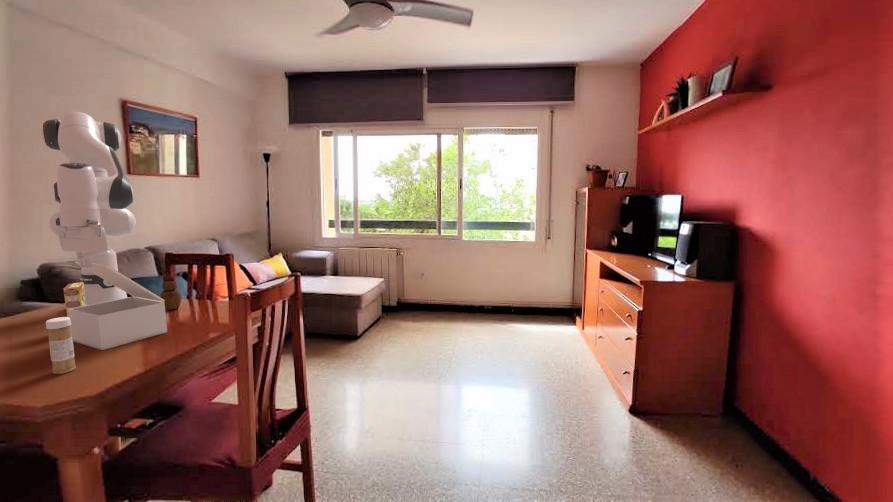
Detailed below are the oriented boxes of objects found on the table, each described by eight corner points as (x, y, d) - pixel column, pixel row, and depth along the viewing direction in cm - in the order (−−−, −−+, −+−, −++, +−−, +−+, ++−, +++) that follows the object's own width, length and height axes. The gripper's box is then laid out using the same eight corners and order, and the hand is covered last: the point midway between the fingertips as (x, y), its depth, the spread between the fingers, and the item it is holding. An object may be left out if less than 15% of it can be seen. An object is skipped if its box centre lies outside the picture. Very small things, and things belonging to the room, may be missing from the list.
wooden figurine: (158, 310, 166) (154, 272, 165) (169, 306, 172) (166, 269, 170) (173, 311, 165) (170, 272, 163) (185, 307, 171) (181, 269, 169)
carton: (71, 340, 132) (67, 309, 131) (136, 325, 148) (133, 296, 147) (101, 350, 124) (98, 316, 122) (167, 332, 139) (164, 302, 138)
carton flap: (74, 262, 132) (76, 260, 132) (132, 296, 146) (134, 294, 147) (105, 266, 123) (106, 264, 124) (163, 301, 138) (164, 300, 138)
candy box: (86, 333, 140) (80, 286, 138) (68, 335, 137) (62, 288, 135) (89, 326, 147) (84, 281, 145) (73, 328, 145) (67, 283, 143)
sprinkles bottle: (63, 367, 111) (57, 316, 110) (81, 367, 111) (75, 316, 109) (47, 374, 107) (40, 321, 105) (65, 374, 107) (58, 321, 105)
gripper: (112, 219, 123) (117, 268, 125) (78, 219, 133) (82, 264, 135) (85, 220, 118) (90, 271, 119) (51, 220, 127) (57, 266, 129)
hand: (86, 267), depth 127 cm, fingers closed, pressing on carton flap
